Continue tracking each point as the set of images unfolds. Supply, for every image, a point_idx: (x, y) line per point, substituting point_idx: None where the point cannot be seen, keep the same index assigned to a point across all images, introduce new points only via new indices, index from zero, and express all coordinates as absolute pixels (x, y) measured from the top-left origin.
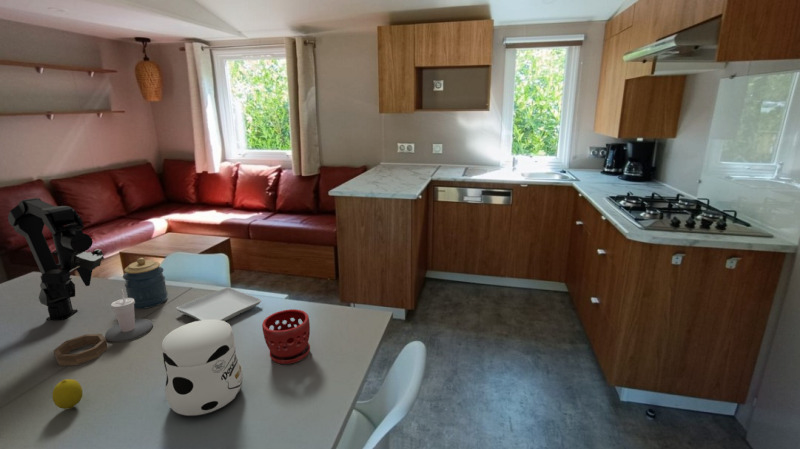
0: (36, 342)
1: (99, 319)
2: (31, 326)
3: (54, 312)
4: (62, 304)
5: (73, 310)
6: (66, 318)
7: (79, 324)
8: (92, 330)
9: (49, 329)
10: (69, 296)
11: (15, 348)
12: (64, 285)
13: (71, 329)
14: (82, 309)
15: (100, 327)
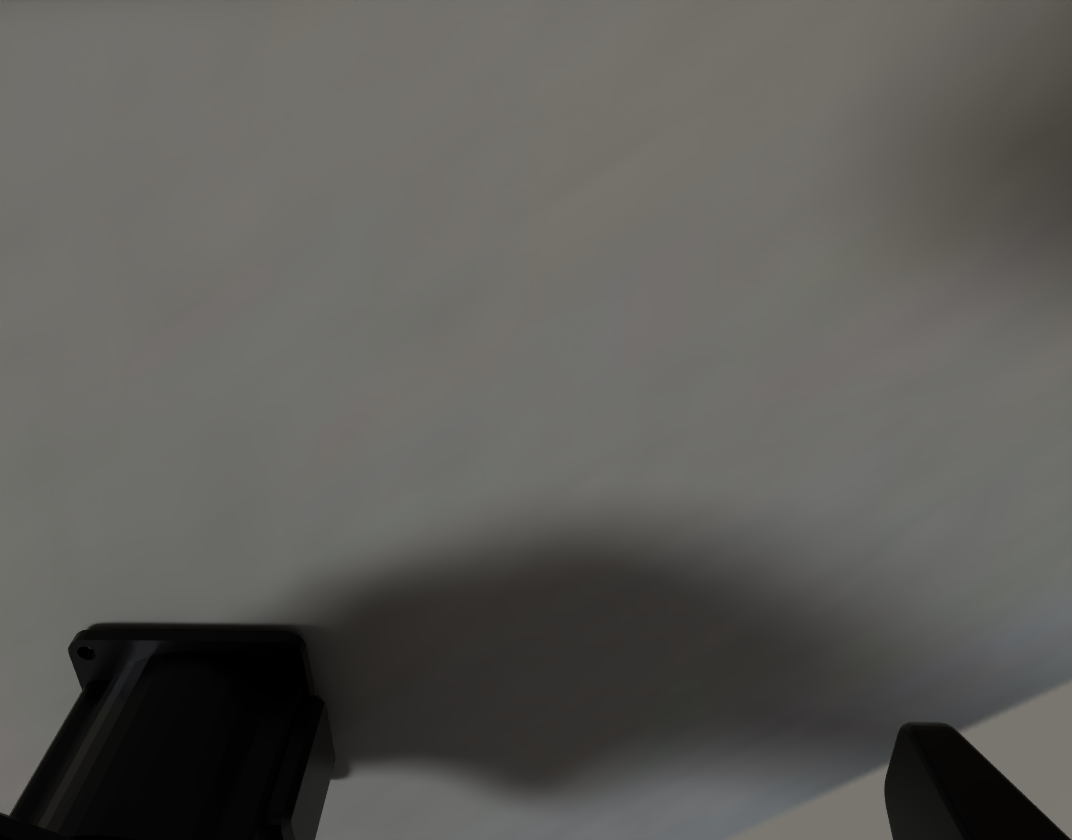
0: (827, 599)
1: (259, 218)
2: (454, 820)
3: (306, 786)
4: (192, 809)
5: (100, 669)
6: (285, 632)
7: (417, 407)
8: (615, 100)
9: (531, 648)
10: (968, 759)
11: (912, 701)
12: None
13: (552, 422)
14: (28, 605)
15: (523, 23)
